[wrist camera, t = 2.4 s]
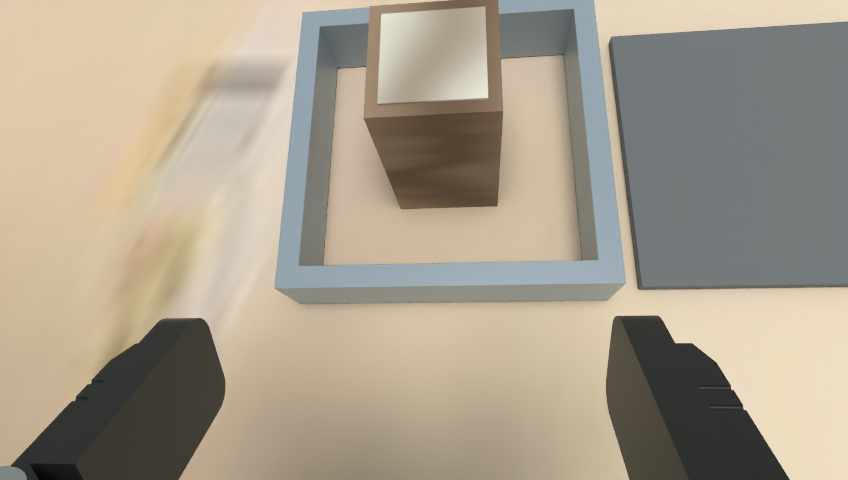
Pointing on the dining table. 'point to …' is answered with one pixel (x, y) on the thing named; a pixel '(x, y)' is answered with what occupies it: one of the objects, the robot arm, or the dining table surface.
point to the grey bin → (451, 282)
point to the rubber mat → (736, 155)
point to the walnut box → (436, 100)
